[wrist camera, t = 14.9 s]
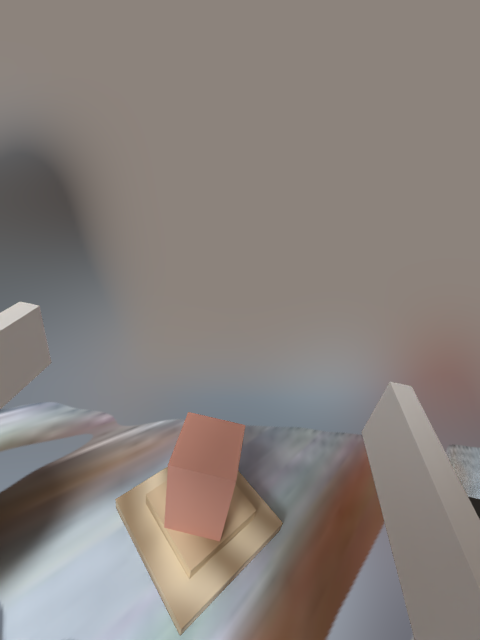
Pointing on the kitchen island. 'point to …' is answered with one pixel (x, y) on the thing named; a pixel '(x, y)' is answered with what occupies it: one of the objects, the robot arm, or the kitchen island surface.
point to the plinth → (167, 565)
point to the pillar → (202, 476)
